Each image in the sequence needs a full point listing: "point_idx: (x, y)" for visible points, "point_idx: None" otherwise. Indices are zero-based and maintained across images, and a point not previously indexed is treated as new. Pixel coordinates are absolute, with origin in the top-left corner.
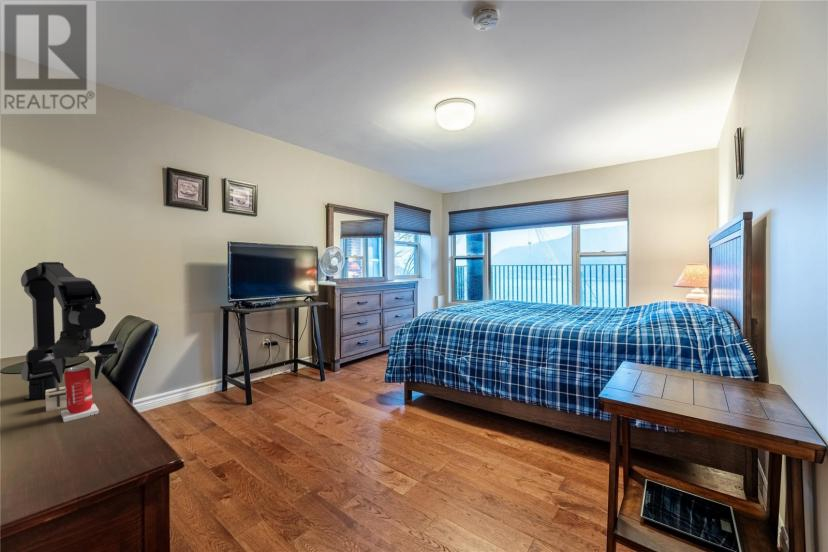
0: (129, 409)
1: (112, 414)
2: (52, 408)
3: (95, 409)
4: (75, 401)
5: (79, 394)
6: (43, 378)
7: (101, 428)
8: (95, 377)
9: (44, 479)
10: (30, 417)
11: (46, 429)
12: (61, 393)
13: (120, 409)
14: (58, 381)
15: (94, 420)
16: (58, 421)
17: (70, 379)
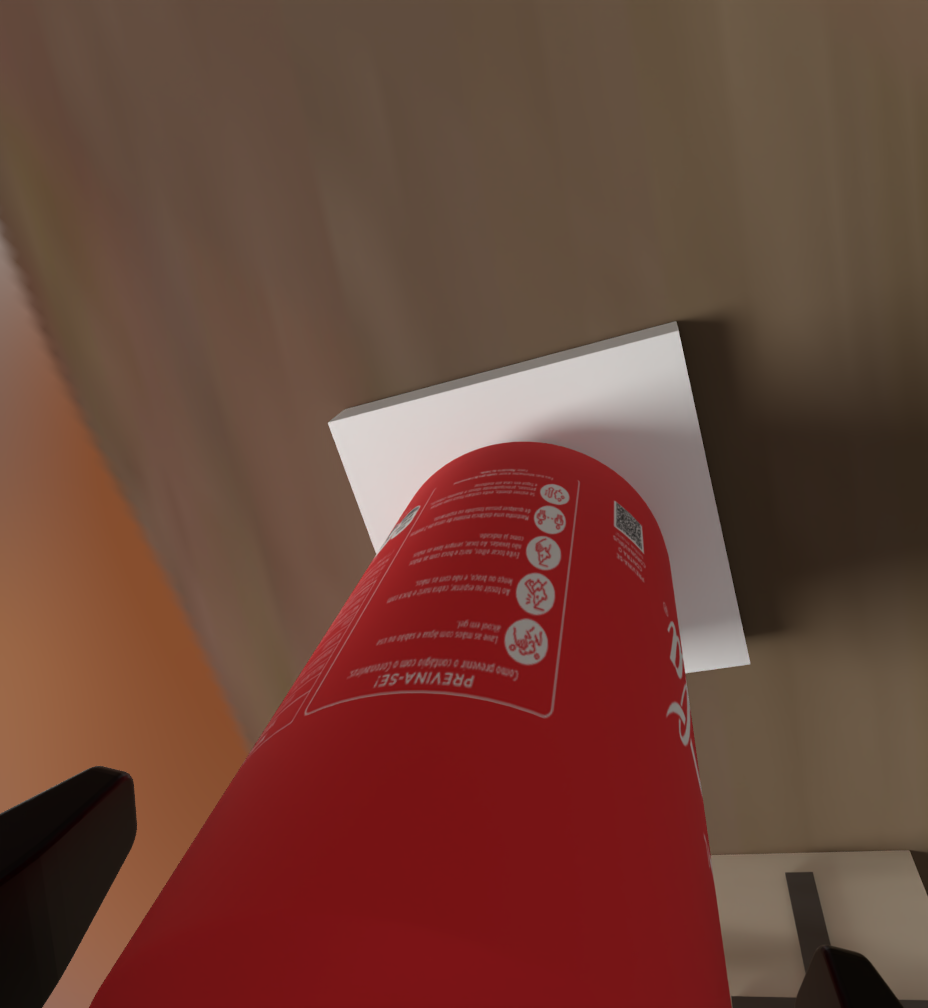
0: (53, 350)
1: (185, 276)
2: (854, 867)
3: (372, 472)
4: (538, 493)
5: (458, 539)
6: None
7: None
8: (85, 788)
9: None
10: None
11: (846, 140)
12: None
13: (151, 414)
14: (873, 988)
15: (331, 158)
16: (741, 400)
17: (553, 807)
